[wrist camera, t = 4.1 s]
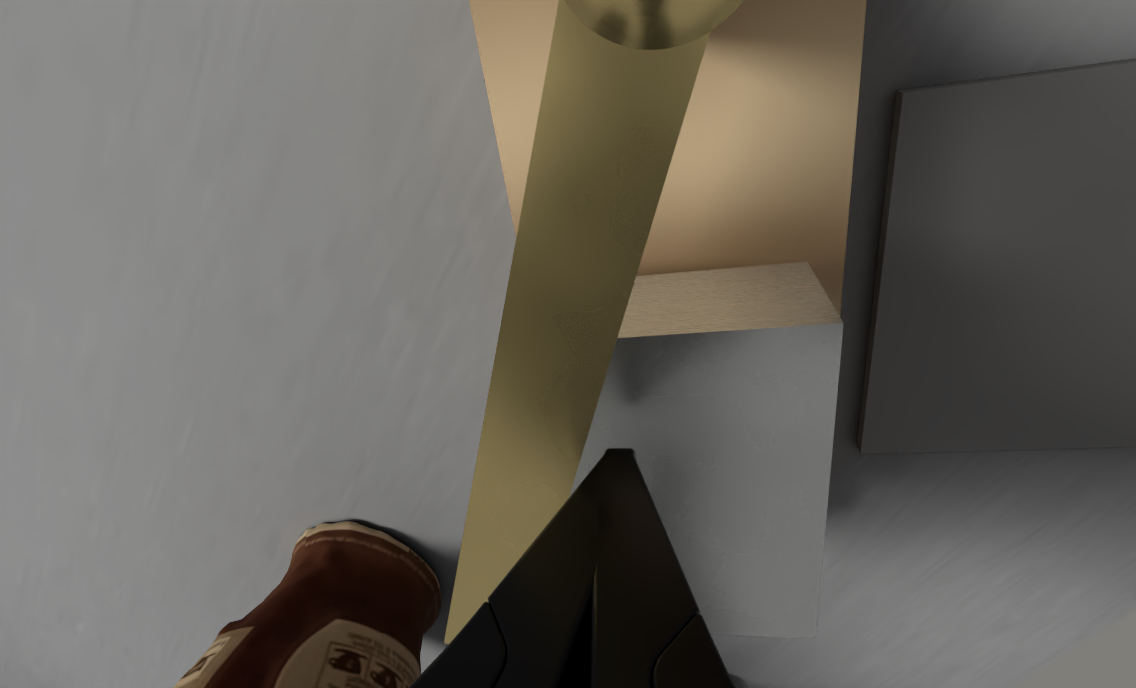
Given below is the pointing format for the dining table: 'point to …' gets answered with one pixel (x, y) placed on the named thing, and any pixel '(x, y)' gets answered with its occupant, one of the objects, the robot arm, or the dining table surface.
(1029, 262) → the mat
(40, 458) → the dining table surface
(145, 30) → the dining table surface
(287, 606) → the brown jar
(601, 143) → the latch lever
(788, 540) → the grey flat block
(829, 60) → the latch plate
